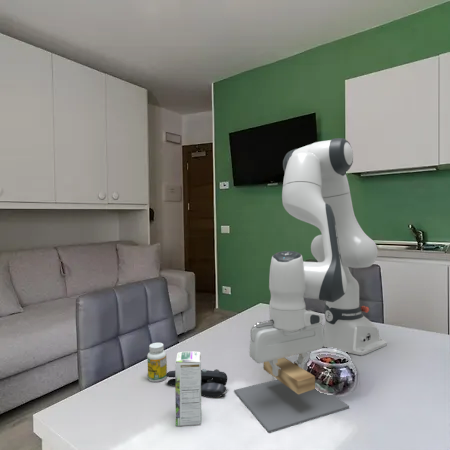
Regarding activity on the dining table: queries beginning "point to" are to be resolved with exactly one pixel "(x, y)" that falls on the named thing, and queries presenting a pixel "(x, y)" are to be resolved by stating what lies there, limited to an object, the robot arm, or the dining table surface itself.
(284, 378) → the wooden rectangular block
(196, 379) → the syrup box
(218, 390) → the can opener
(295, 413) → the rubber mat
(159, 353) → the supplement bottle
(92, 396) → the dining table surface
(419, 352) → the dining table surface
